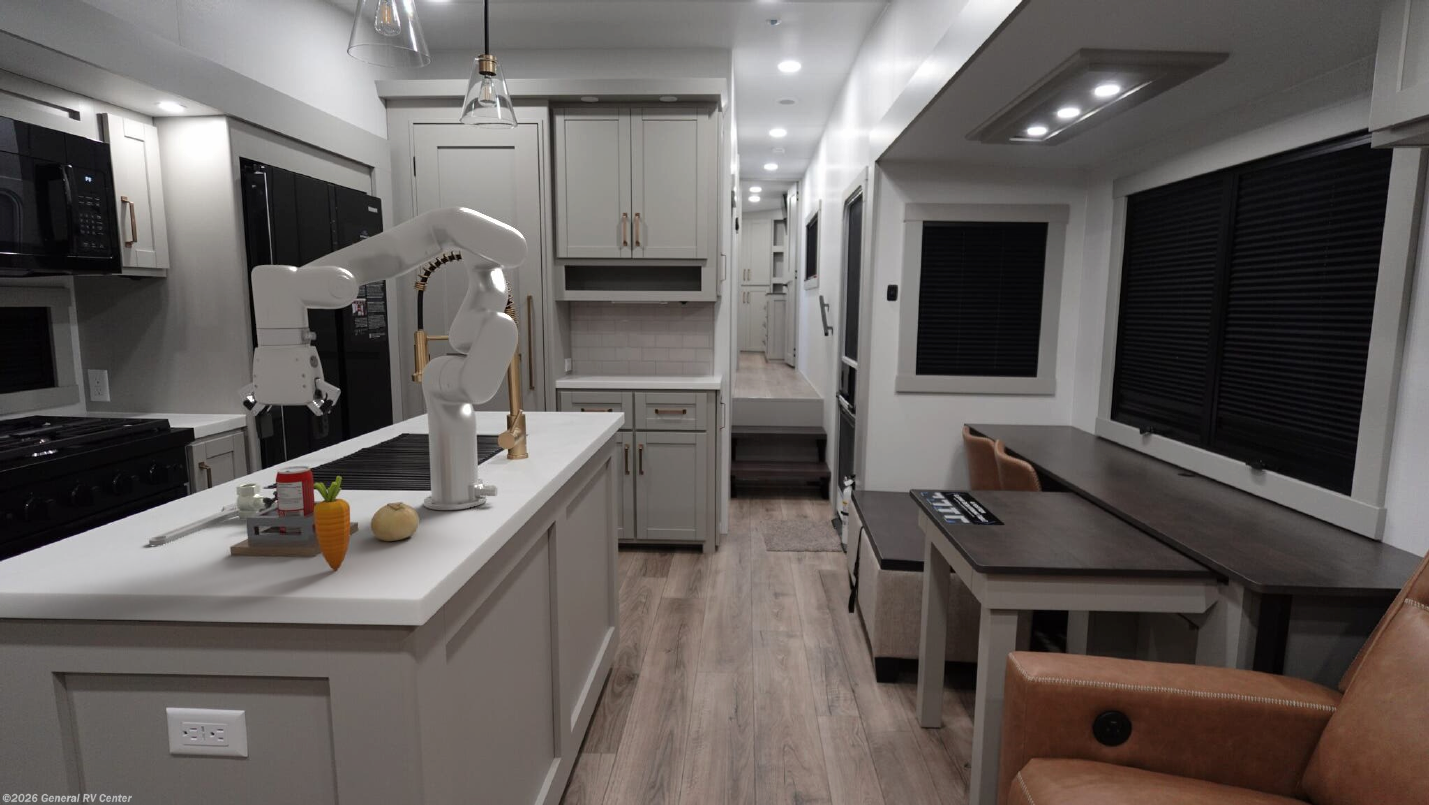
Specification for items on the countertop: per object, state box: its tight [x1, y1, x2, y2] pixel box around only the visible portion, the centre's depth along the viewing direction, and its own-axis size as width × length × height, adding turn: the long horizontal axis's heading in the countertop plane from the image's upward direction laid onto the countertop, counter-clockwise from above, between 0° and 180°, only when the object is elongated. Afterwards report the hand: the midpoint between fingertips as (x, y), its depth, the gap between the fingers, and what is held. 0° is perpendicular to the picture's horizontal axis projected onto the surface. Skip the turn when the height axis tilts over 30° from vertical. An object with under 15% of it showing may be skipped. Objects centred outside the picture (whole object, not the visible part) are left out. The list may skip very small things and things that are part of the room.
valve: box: [235, 482, 277, 521], centre depth 133 cm, size 7×7×12 cm
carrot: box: [313, 475, 351, 571], centre depth 106 cm, size 5×5×15 cm
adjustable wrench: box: [148, 502, 240, 546], centre depth 130 cm, size 25×6×2 cm, turn 172°
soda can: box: [275, 465, 315, 533], centre depth 120 cm, size 6×6×12 cm
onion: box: [370, 501, 420, 542], centre depth 123 cm, size 8×8×7 cm
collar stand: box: [229, 500, 359, 557], centre depth 120 cm, size 14×14×6 cm
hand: (293, 437), depth 118 cm, fingers open, 9 cm apart
